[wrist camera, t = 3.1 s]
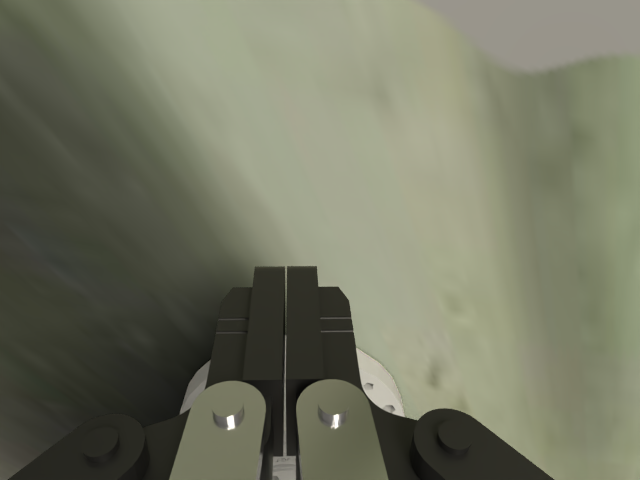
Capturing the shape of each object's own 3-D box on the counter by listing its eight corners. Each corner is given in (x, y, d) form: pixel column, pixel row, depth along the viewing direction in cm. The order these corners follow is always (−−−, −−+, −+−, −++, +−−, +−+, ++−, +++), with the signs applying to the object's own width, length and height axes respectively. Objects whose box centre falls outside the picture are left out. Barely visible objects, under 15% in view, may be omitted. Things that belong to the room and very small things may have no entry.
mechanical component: (160, 448, 24) (345, 490, 26) (134, 543, 20) (351, 582, 23) (222, 300, 19) (441, 367, 22) (202, 388, 16) (469, 458, 18)
